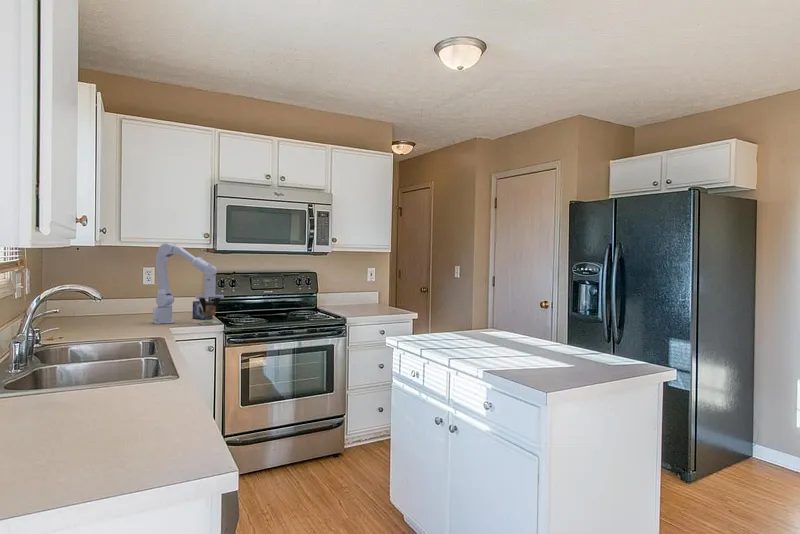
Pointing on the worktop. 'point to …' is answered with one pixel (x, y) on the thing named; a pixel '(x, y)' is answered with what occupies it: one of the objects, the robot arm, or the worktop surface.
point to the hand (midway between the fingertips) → (209, 311)
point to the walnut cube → (209, 310)
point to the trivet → (209, 322)
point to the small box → (200, 310)
